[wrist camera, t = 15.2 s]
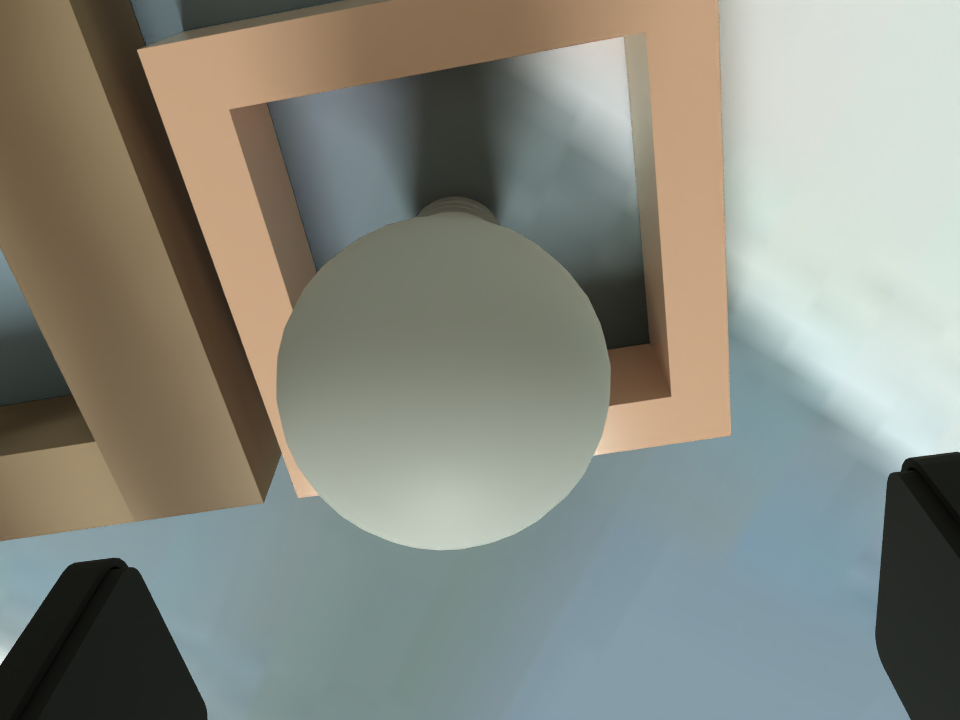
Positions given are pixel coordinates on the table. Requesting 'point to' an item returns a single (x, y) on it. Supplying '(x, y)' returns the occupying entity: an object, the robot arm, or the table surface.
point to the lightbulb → (443, 380)
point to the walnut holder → (113, 292)
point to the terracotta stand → (443, 45)
